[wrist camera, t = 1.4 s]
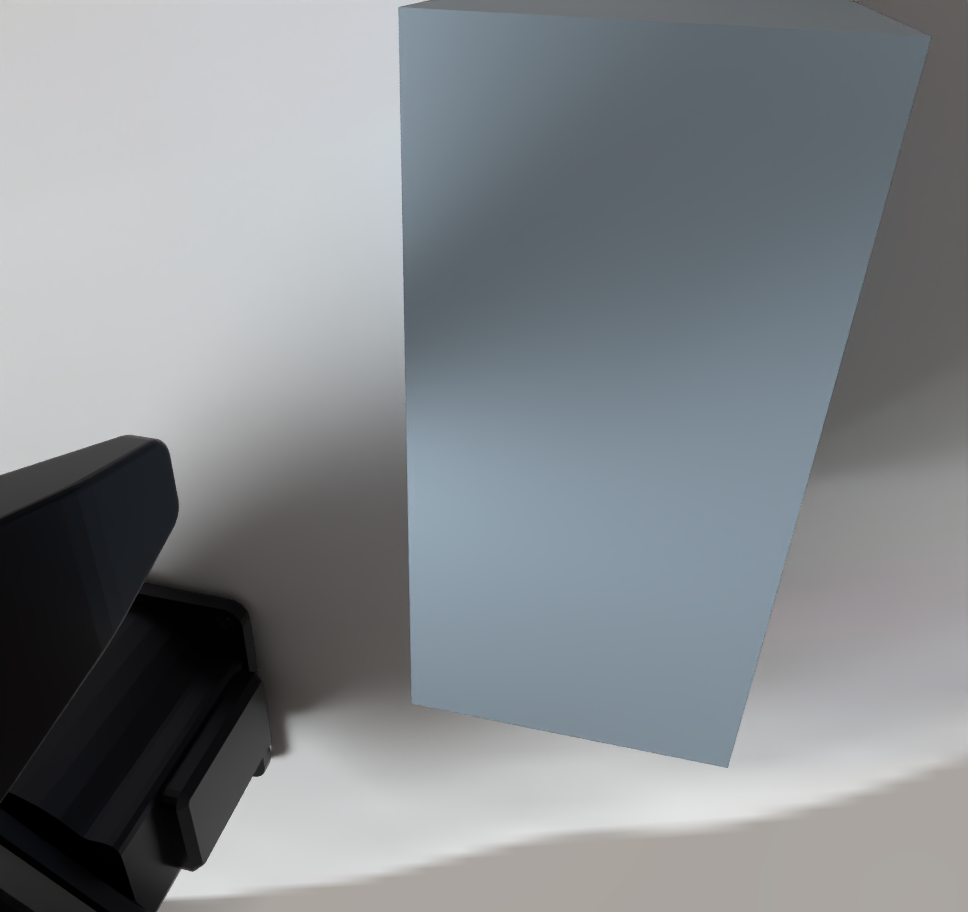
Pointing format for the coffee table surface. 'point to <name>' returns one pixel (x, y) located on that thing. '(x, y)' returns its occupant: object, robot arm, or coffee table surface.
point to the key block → (626, 339)
